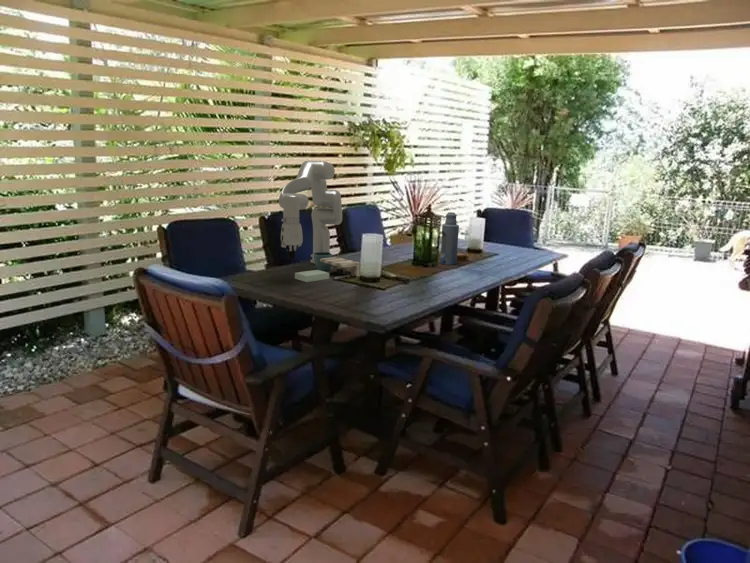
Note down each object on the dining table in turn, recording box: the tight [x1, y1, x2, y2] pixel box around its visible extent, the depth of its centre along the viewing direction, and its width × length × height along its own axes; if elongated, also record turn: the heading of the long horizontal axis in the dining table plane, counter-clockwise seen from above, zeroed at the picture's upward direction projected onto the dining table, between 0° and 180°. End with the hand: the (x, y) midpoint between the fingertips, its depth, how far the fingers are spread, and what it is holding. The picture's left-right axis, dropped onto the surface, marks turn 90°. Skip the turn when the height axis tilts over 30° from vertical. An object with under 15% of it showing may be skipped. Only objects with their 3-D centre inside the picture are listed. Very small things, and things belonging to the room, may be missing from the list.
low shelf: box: [320, 256, 361, 280], centre depth 305 cm, size 20×14×8 cm
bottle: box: [439, 211, 460, 266], centre depth 343 cm, size 10×10×30 cm
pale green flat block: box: [294, 269, 330, 283], centre depth 296 cm, size 10×14×3 cm
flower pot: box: [314, 252, 334, 271], centre depth 318 cm, size 9×9×9 cm
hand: (291, 258), depth 285 cm, fingers closed
